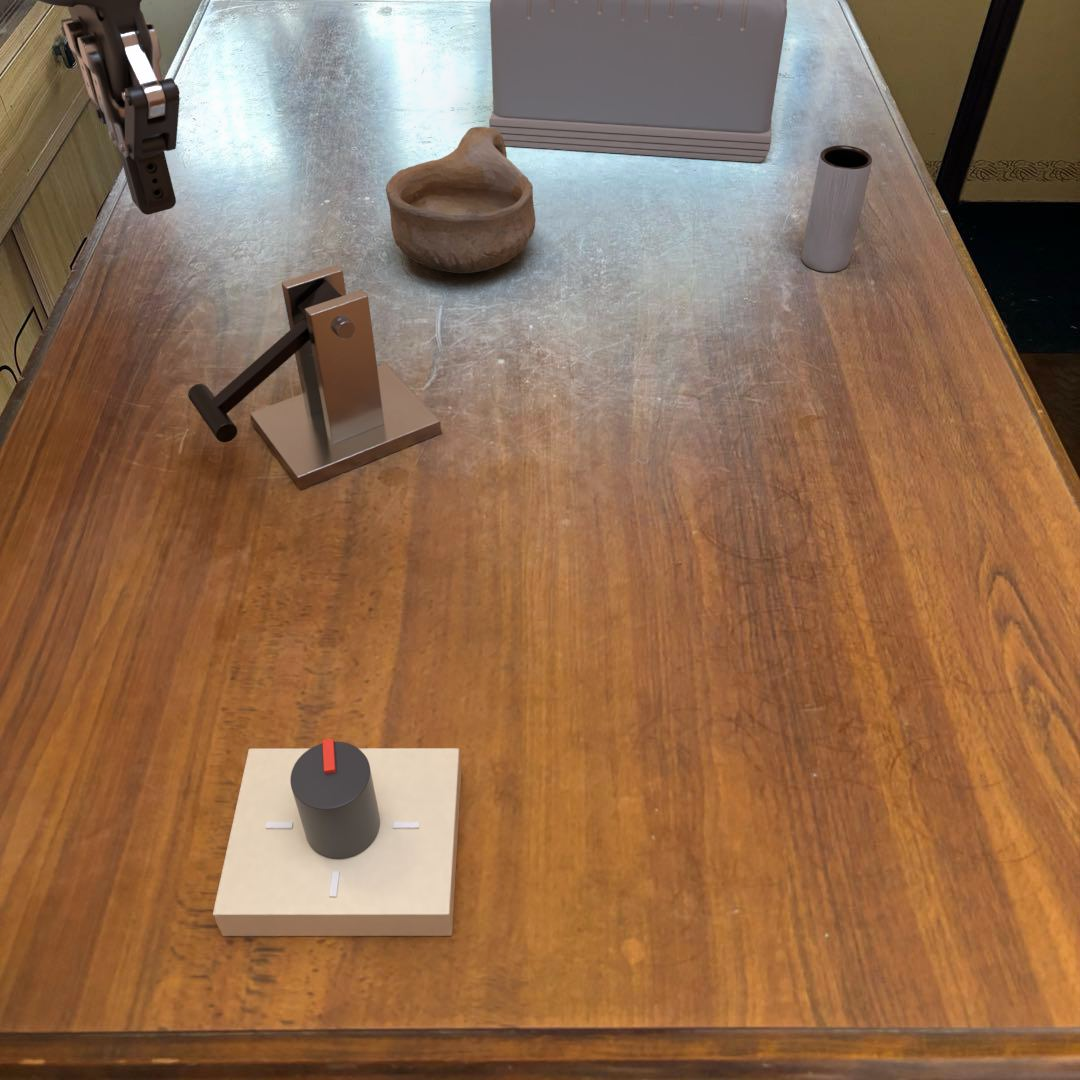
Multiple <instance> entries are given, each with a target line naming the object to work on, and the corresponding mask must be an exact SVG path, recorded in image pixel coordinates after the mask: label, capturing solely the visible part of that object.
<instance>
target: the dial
mask: <svg viewBox="0 0 1080 1080" xmlns="http://www.w3.org/2000/svg"><path fill="white" fill-rule="evenodd" d="M321 741H322V743H319V744H316V745H314V746H312V747H310V748H311V749H309V750H307V751H306V752H305V753H304V754H303V755H301V757H300V758H299V759H298V760H297V762H296V763H295V765H294V767H293V769H292V772H291V779H290V782H291V788H292V791H293V795H294V798H295V801H296V805H297V808H298V812H299V815H300V818H301V822H302V825H303V829H304V832H305V835H306V839H307V841H308V843H309V845H310V846H311V848H312V849H313V850H314V851H315V852H317V853H318V854H320V855H322V856H324V857H327V858H331V859H346V858H350V857H353V856H356V855H358V854H360V853H361V852H363V851H364V850H365V849H367V848H368V847H369V846H370V845H371V844H372V842H373V841H374V840H375V838H376V836H377V834H378V832H379V828H380V816H379V810H378V805H377V800H376V795H375V790H374V785H373V780H372V775H371V770H370V765H369V762H368V759H367V757H366V756H365V755H364V753H363V752H362V751H361V750H360V749H358V748H359V747H357V746H355V745H353V744H351V743H348V742H344V741H334V738H325V739H322V740H321Z"/></svg>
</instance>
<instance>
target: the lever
mask: <svg viewBox="0 0 1080 1080" xmlns="http://www.w3.org/2000/svg"><path fill="white" fill-rule="evenodd" d="M338 297H341V295H340V293H339V292H338V291H337V290H336V289H335V288H334V287H333V286H332V285H331V284H330V283H329V282H328V281H325V282H324V283H323V284H322V285H321V286H320V287H319V288H317V289H316V290H315V291H314V292H313V293H312V294H311V295H310V296H308V297H307V298H306V299H305V300H304V301H303V302H302V303H301V304H299V305H298V307H299V308H300V310H301V311H302V312H303V313H304V314H305V315H306V313H305V308H308V307H311V306H314V305H317V304H320V303H323V302H326V301H329V300H332V299H335V298H338ZM309 340H310V335H309V330H308V324H307V319H306V316H305V317H304V318H303V319H302V320H301V321H300V322H298V323H297V324H296V325H295V326H294V327H293V328H292V329H291V330H290V329H289V330H288V331H287V332H286V333H285V334H283V336H282V337H280V338H279V339H278V340H277V341H275V342H274V344H272V345H271V346H270V347H269V348H267V350H266V351H264V353H262V354H261V355H260V356H259V357H258V358H257V359H255V360H254V361H253V362H252V363H251V364H250V365H249V366H247V368H245V369H244V370H243V371H242V372H241V373H240V374H239V375H237V376H236V377H235V378H234V379H233V380H232V381H230V383H228V384H227V385H226V386H225V387H224V388H223V389H222V390H220V391H219V392H218V393H217V394H216V395H214V394H213V392H212V391H211V390H210V388H209V387H208V386H207V385H206V384H204V383H196V384H194V385H193V386H191V387H190V388H189V390H188V393H187V397H188V400H190V402H191V404H192V405H193V406H194V408H195V409H196V411H197V412H198V414H199V416H201V418H202V420H203V421H204V422H205V425H206V426H207V428H209V430H210V431H211V433H212V434H213V436H214V437H215V439H216V440H217V441H219V442H220V443H229V442H232V441H233V440H234V439H235V438H236V436H237V435H238V428H237V425H235V423H234V422H233V420H232V419H231V417H230V415H228V413H229V412H231V411H232V410H233V409H234V408H235V407H236V406H237V405H238V404H240V403H241V402H242V401H243V400H244V399H246V397H248V396H249V394H251V393H252V392H253V391H254V390H255V389H256V388H258V387H259V386H260V385H261V384H262V383H263V382H264V381H265V380H267V379H268V378H269V377H270V376H271V375H272V374H273V373H274V372H276V371H277V370H278V369H279V368H280V367H281V366H282V365H283V364H285V363H286V362H287V361H288V360H289V359H290V358H291V357H292V356H293V355H295V353H296V352H297V351H298V350H299V349H300V348H301V347H302V346H304V345H305V344H306V343H307V342H308V341H309Z"/></svg>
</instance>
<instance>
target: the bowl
mask: <svg viewBox="0 0 1080 1080" xmlns="http://www.w3.org/2000/svg"><path fill="white" fill-rule="evenodd" d="M457 145H458V146H457V147H456V149H454V150H453V151H451V152H450V153H449V154H447V155H445V156H443V157H441V158H438V159H433V160H429V161H426V162H422V163H418V164H415V165H412V166H409V167H406V168H402V169H400V170H398V171H397V172H396V173H395V174H393V175H392V176H391V177H390V179H389V180H388V182H387V183H386V186H385V193H386V194H385V195H386V198H387V202H388V206H389V215H390V229H391V232H392V236H393V239H394V243H395V244H396V246H397V247H398V248H399V250H400V251H401V252H402V253H403V254H404V255H405V256H407V257H408V258H409V259H412V261H414V262H416V263H418V264H422V265H423V266H426V267H428V268H431V269H434V270H437V271H440V272H446V273H454V274H468V273H469V274H471V273H472V274H473V273H478V272H483V271H487V270H490V269H494V268H497V267H499V266H501V265H503V264H505V263H508V262H510V261H511V260H512V259H513V258H515V257H516V256H518V255H519V254H520V253H521V252H522V251H523V250H525V248H526V247H527V245H528V244H529V241H530V239H531V238H532V236H533V235H534V231H535V228H536V212H535V205H534V192H533V191H534V189H533V188H534V186H533V184H532V182H531V181H530V180H529V178H528V177H527V176H526V175H525V174H524V173H523V172H522V171H521V170H520V169H519V168H518V167H517V166H516V165H515V164H514V163H513V162H512V161H511V160H509V158H508V155H507V148H506V146H505V143H504V140H503V137H502V135H501V134H500V133H499V132H498V131H497V130H495V129H493V128H490V127H488V126H473V127H470V128H469V129H468V130H467V131H466V132H465V134H464V135H463V136H462V137H461V139H460V141H459V143H458V144H457Z"/></svg>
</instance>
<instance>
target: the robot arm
mask: <svg viewBox="0 0 1080 1080" xmlns="http://www.w3.org/2000/svg"><path fill="white" fill-rule="evenodd" d="M37 1H39V2H41V3H44V4H48V5H52V6H58V7H65V8H66V7H67V10H68V13H69V15H70V17H69V18H63V19H60V24H61V27H60V30H61V33H62V35H63V37H65V39H66V41H67V44H68V46H69V48H70V51H71V53H72V55H73V58H74V60H75V63H76V65H77V69H78V71H79V73H80V75H81V77H82V80H83V82H84V85H85V87H86V91H87V94H88V98H89V99H90V100H91V102H92V104H93V107H94V111H95V115H96V118H97V119H98V120H99V121H100V122H101V124H102V125H106V126H107V130H108V132H107V135H108V138H109V140H110V141H111V142H112V144H113V145H114V147H115V148H117V150H118V154H119V157H120V160H121V165H122V168H123V172H124V175H125V179H126V183H127V186H128V190H129V194H130V197H131V200H132V203H134V205H135V207H137V208H138V209H139V211H140V213H142V214H144V215H154V214H156V213H161V212H163V211H168V210H171V209H173V208H174V207H175V205H176V203H177V199H176V194H175V190H174V187H173V181H172V179H171V174H170V169H169V165H168V162H167V161H168V160H167V157H166V153H165V152H169V151H173V150H176V149H177V139H178V128H179V127H178V125H179V114H180V113H179V112H180V100H181V99H180V98H181V97H180V89H179V87H178V84H176V81H175V80H174V79H173V78H172V77H169V78H165V79H163V75H162V71H161V66H160V61H161V59H162V48H161V44H160V40H159V35H158V32H157V30H156V27H155V26H154V24H153V23H152V22H147V23H146V20H145V15H144V13H143V12H142V10H141V3H142V1H143V0H37Z"/></svg>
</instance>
